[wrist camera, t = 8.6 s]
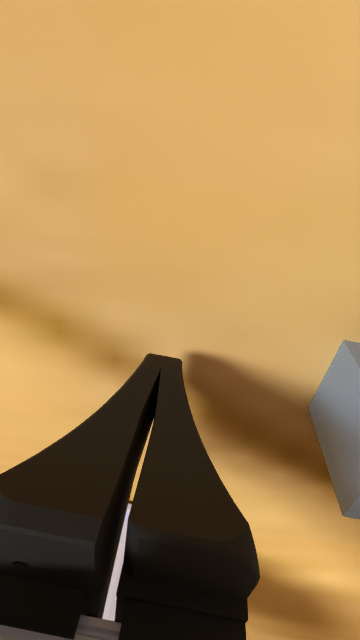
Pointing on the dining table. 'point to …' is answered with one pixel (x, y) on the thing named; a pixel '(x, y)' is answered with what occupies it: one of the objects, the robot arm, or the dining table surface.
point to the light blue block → (341, 425)
